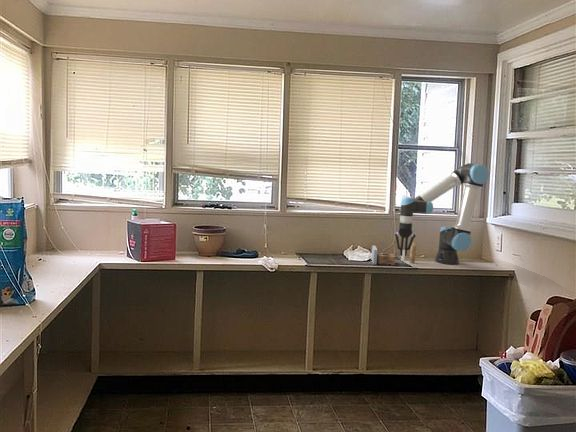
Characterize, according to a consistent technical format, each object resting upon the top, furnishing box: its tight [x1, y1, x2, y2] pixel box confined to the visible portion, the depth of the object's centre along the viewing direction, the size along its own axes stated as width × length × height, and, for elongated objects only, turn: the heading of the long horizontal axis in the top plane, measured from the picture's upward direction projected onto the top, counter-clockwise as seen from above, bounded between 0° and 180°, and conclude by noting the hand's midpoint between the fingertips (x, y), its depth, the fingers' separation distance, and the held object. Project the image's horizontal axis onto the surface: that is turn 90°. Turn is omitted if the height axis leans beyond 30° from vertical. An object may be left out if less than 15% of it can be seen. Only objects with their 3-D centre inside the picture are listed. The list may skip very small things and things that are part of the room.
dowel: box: [408, 241, 417, 264], centre depth 378 cm, size 3×3×13 cm
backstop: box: [370, 245, 379, 266], centre depth 371 cm, size 2×16×9 cm, turn 177°
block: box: [377, 252, 396, 266], centre depth 371 cm, size 10×10×5 cm
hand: (402, 260), depth 371 cm, fingers closed
